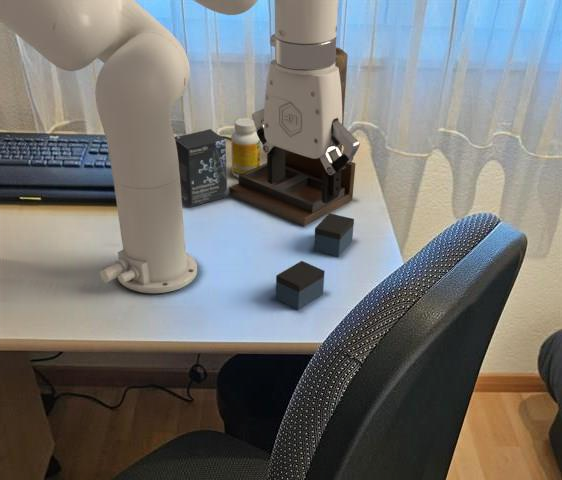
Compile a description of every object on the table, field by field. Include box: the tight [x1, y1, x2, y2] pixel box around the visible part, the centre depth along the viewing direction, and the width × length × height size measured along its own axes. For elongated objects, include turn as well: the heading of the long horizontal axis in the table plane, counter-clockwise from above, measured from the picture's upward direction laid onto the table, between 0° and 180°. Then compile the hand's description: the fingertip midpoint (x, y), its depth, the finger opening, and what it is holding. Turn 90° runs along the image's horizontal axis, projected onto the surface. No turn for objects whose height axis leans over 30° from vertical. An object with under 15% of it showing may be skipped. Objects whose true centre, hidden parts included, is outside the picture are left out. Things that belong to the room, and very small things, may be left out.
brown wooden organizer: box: [228, 150, 357, 227], centre depth 136 cm, size 14×18×7 cm
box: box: [174, 128, 228, 208], centre depth 134 cm, size 8×6×11 cm
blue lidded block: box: [313, 212, 355, 258], centre depth 125 cm, size 6×4×4 cm
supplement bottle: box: [230, 117, 261, 179], centre depth 142 cm, size 5×5×10 cm
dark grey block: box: [275, 260, 326, 311], centre depth 114 cm, size 6×4×4 cm
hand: (302, 189), depth 105 cm, fingers open, 9 cm apart
